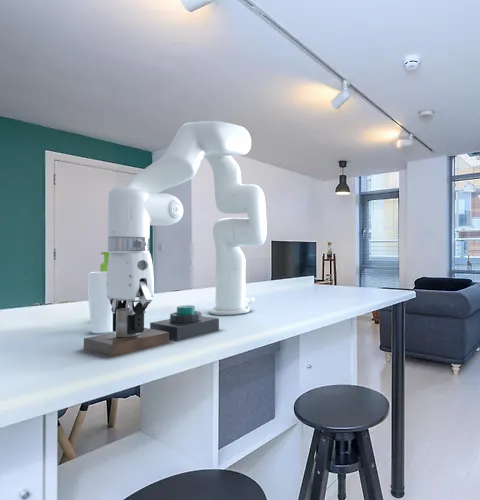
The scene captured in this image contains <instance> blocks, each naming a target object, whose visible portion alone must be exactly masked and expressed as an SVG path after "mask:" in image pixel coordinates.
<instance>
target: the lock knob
mask: <svg viewBox="0 0 480 500" xmlns="http://www.w3.org/2000/svg"><path fill="white" fill-rule="evenodd" d="M127 315H130V313H129V307H128V308H122V309H117V310H116V337H132V336H137V335H139V334H140V333H135V334H127Z"/></svg>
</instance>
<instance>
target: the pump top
mask: <svg viewBox="0 0 480 500" xmlns="http://www.w3.org/2000/svg"><path fill="white" fill-rule="evenodd" d="M195 308H196V306H195V305H192V304H191V305H189V304H187V305H179V306H178V305H177V307H176V312H177V315H190V314H195V311H196V309H195Z"/></svg>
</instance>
